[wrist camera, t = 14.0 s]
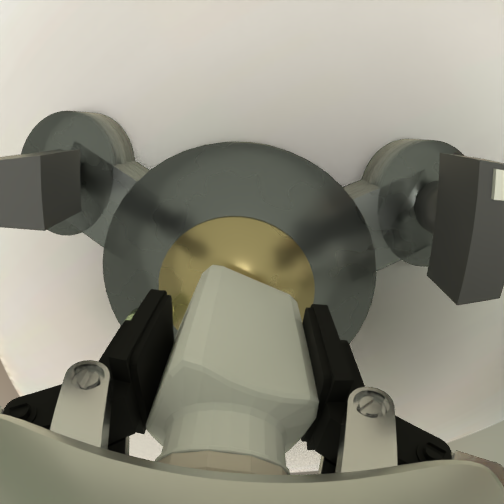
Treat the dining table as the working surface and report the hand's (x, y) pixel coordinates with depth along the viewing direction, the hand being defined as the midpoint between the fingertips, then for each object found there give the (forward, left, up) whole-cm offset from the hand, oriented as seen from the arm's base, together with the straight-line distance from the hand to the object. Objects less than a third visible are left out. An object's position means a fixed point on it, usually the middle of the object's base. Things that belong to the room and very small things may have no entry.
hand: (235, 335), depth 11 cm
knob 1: (+9, -5, -3) cm, 11 cm away
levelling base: (0, +2, -6) cm, 6 cm away
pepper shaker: (0, 0, -2) cm, 2 cm away
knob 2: (-8, -5, -3) cm, 10 cm away
